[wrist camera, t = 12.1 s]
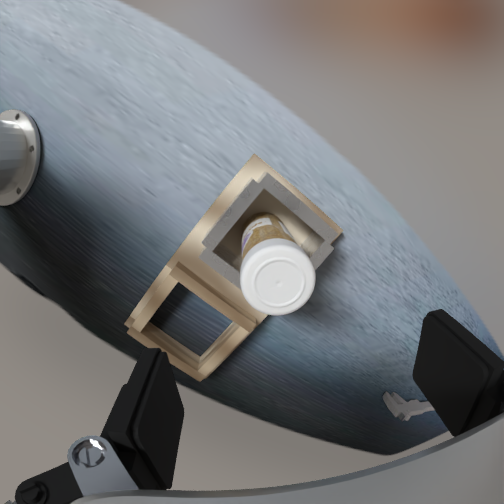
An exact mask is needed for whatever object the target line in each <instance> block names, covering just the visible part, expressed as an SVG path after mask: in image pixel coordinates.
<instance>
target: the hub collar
mask: <svg viewBox="0 0 504 504" xmlns="http://www.w3.org/2000/svg"><path fill="white" fill-rule="evenodd" d="M264 188H265V189H266V190H267V191H268V192H269V193H271V194H272V195H273V196H274V197H275V198H277V199H278V200H279V201H280V202H281V203H283V204H284V205H285V206H286V207H287V208H289V209H290V210H291V211H292V212H293V213H294V214H296V215H297V216H298V217H299V218H300V219H301V220H303V221H304V222H305V223H306V224H307V225H308V226H310V227H311V228H312V229H313V231H312V233H311V234H310V235H309V236H308V237H307V238H306V239H305V241H304V242H303V243H302V244H301V245H300V247H301V248H302V249H303V250H304V251H305V253H306V254H307V256H308V257H309V259H310V260H311V262H312V264H313V267H314V270H316V269H317V268H318V267H319V266H320V265H321V263H322V262H323V261H324V260H325V259H326V258H327V257H328V255H329V254H330V253H331V252H332V251H333V250H334V249H335V248H333V247H332V246H331V245H330V244H331V242H332V241H333V240H334V239H335V238H336V237H337V235H338V233H337V232H336V231H335V230H334V229H332V228H331V227H330V226H329V225H328V224H327V223H326V222H325V221H324V220H322V219H321V218H320V217H319V216H318V215H317V214H316V213H315V212H313V211H312V210H311V209H310V208H309V207H308V206H307V205H306V204H304V203H303V202H302V201H301V200H300V199H299V198H297V197H296V196H295V195H294V194H293V193H292V192H290V191H289V190H288V189H287V188H286V187H285V186H283V185H282V184H281V183H280V182H279V181H277V180H276V179H275V178H274V177H273V176H271V175H270V174H269V173H268V172H264V173H263V174H262V175H261V176H260V177H259V179H258V180H257V181H255V180H254V179H253V178H252V177H251V179H250V180H249V181H248V182H247V183H246V185H245V186H244V187H243V188H242V189H241V191H240V192H239V193H238V194H237V195H236V197H235V198H234V199H233V200H232V202H231V203H230V204H229V205H228V207H227V208H226V209H225V210H224V211H223V213H222V214H221V215H220V216H219V218H218V219H217V220H216V221H215V223H214V224H213V225H212V226H211V228H210V229H209V230H208V231H207V233H206V235H205V237H204V239H203V240H202V242H201V243H202V244H203V245H204V247H203V249H202V251H201V253H200V255H199V257H198V258H199V259H201V260H202V261H203V262H205V263H206V264H207V265H209V266H210V267H211V268H213V269H214V270H215V271H216V272H218V273H219V274H220V275H222V276H223V277H224V278H226V279H227V280H228V281H230V282H231V283H232V284H234V285H235V286H236V287H238V288H239V289H241V285H240V269H241V265H242V262H243V260H242V259H241V258H239V257H238V256H237V255H236V254H234V253H233V252H232V251H230V250H229V249H228V248H227V247H225V246H224V245H223V244H221V243H220V241H221V240H222V239H223V237H224V236H225V235H226V234H227V232H228V231H229V230H230V229H231V228H232V226H233V225H234V224H235V223H236V221H237V220H238V219H239V218H240V217H241V215H242V214H243V213H244V212H245V211H246V209H247V208H248V207H249V206H250V205H251V203H252V202H253V201H254V200H255V199H256V197H257V196H258V195H259V194H260V193H261V191H262V190H263V189H264Z"/></svg>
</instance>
